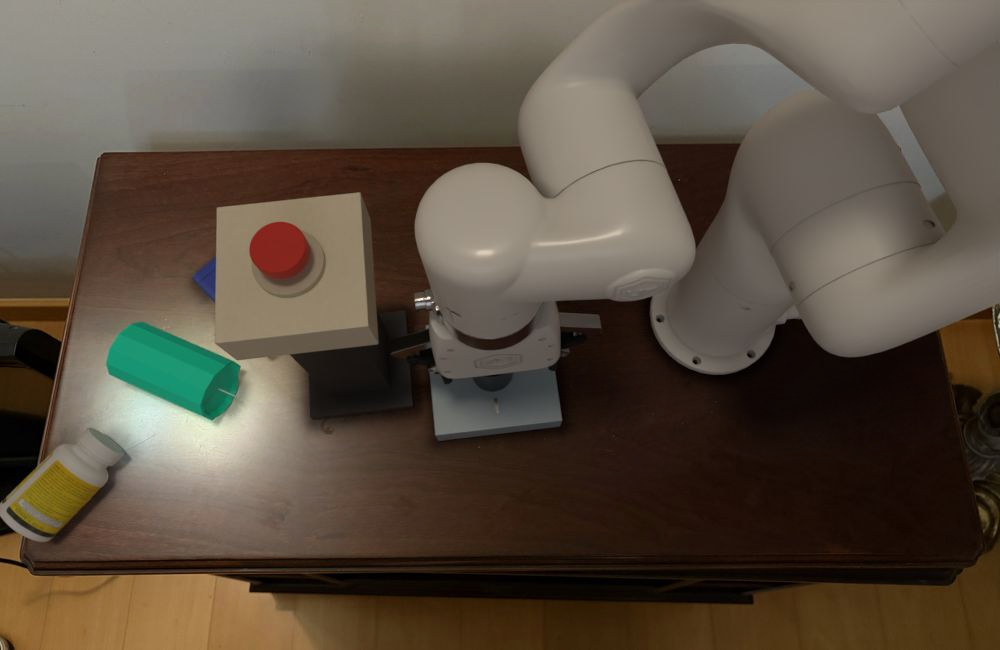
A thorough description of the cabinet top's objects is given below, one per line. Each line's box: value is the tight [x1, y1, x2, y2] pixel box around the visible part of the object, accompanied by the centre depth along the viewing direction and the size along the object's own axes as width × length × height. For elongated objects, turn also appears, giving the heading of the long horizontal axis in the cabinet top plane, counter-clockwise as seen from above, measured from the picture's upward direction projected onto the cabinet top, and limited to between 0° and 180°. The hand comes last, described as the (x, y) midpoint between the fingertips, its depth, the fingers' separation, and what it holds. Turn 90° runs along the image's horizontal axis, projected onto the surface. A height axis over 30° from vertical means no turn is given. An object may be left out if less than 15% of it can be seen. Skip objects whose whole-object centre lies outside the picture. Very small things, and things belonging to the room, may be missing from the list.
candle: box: [105, 321, 242, 421], centre depth 68 cm, size 6×6×12 cm
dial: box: [472, 372, 513, 392], centre depth 65 cm, size 4×4×6 cm
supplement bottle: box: [0, 427, 124, 543], centre depth 65 cm, size 5×5×10 cm
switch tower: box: [214, 191, 415, 421], centre depth 59 cm, size 10×10×26 cm
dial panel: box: [424, 324, 563, 442], centre depth 69 cm, size 12×11×3 cm
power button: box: [249, 222, 310, 279], centre depth 45 cm, size 4×4×1 cm
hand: (498, 361), depth 65 cm, fingers open, 9 cm apart
